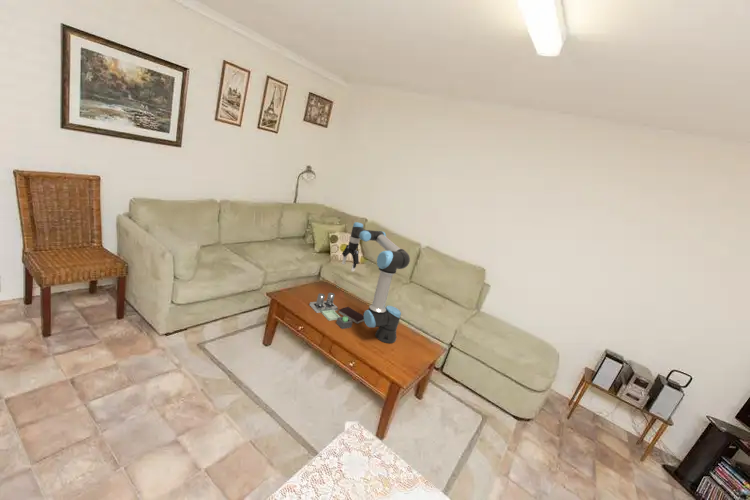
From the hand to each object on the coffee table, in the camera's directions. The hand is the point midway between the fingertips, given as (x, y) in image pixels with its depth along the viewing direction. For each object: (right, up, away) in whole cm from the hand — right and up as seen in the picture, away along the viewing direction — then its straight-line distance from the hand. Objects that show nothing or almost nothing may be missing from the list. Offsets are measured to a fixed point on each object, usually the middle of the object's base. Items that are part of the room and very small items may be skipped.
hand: (347, 267), depth 273 cm
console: (-1, -41, -23) cm, 47 cm away
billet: (-22, -31, -9) cm, 39 cm away
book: (+4, -38, -6) cm, 38 cm away
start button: (-1, -39, -24) cm, 46 cm away
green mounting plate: (-11, -36, -15) cm, 40 cm away
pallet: (-18, -31, -6) cm, 37 cm away
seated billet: (-15, -31, -3) cm, 35 cm away
